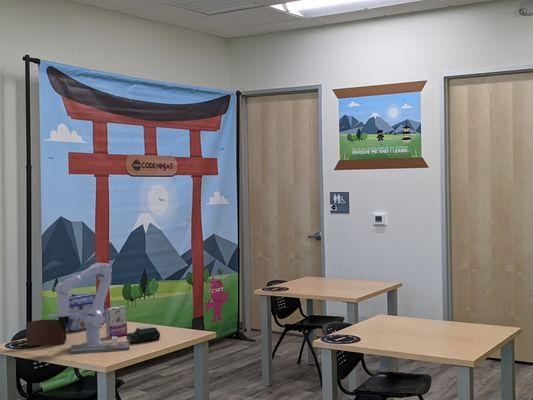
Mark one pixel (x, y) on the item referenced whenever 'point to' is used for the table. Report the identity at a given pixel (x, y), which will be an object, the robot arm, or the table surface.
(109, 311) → the candy bar box
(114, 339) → the fader knob
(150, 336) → the miniature car
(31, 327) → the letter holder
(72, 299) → the lunch box
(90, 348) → the console board
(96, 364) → the table surface
